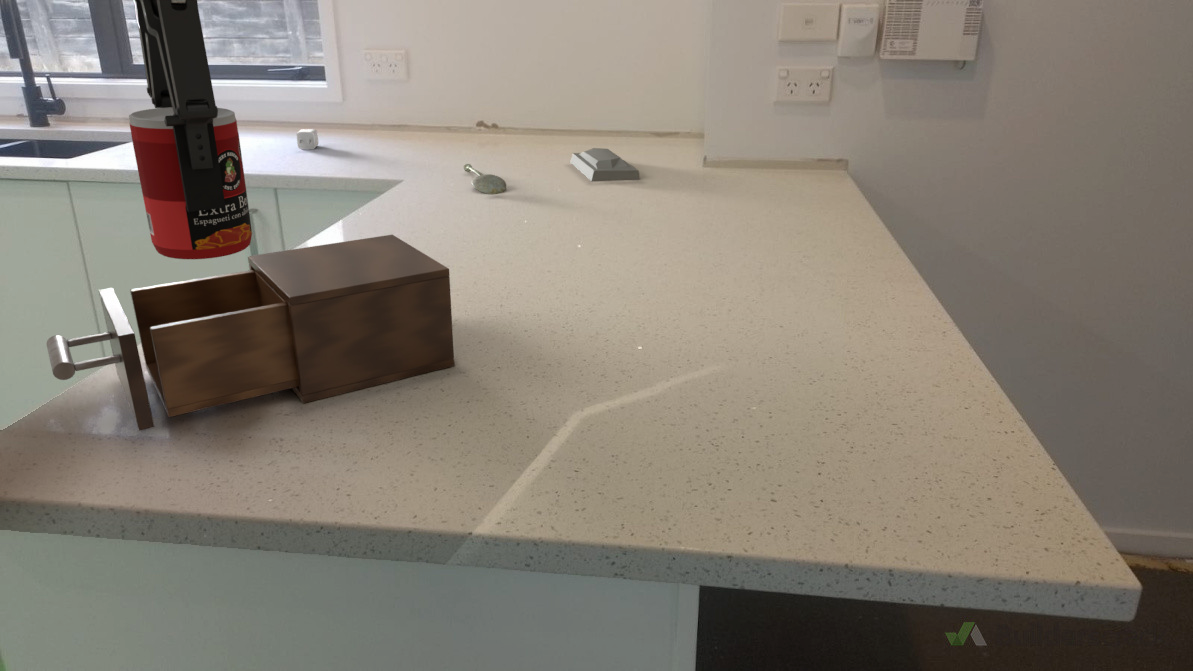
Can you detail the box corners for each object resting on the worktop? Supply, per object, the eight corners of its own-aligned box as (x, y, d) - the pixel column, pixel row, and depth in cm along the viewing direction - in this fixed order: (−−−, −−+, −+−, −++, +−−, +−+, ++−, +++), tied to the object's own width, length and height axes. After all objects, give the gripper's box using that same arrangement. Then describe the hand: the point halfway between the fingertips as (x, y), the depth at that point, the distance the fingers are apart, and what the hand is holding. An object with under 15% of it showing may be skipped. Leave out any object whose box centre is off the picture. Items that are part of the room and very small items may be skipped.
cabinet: (303, 403, 79) (289, 297, 75) (261, 351, 90) (247, 256, 86) (454, 366, 87) (449, 268, 83) (399, 322, 98) (392, 234, 94)
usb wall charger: (318, 145, 203) (316, 129, 201) (313, 151, 197) (311, 133, 195) (301, 145, 202) (299, 129, 201) (295, 151, 196) (293, 133, 195)
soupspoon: (476, 198, 158) (509, 198, 160) (476, 181, 157) (510, 180, 159) (452, 171, 177) (483, 171, 179) (452, 155, 175) (483, 155, 178)
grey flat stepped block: (591, 181, 171) (591, 164, 169) (570, 162, 189) (570, 146, 187) (639, 179, 173) (640, 162, 172) (614, 161, 191) (614, 145, 190)
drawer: (71, 447, 69) (46, 349, 66) (57, 387, 79) (35, 299, 76) (309, 390, 79) (298, 303, 76) (270, 343, 89) (258, 264, 86)
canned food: (206, 265, 66) (183, 123, 62) (130, 252, 68) (103, 115, 64) (274, 241, 72) (257, 110, 68) (202, 230, 75) (181, 104, 71)
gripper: (231, -124, 54) (276, 220, 63) (176, -102, 70) (218, 170, 79) (99, -135, 50) (166, 233, 59) (72, -109, 66) (128, 178, 75)
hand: (195, 197), depth 69 cm, fingers closed on canned food, 8 cm apart
